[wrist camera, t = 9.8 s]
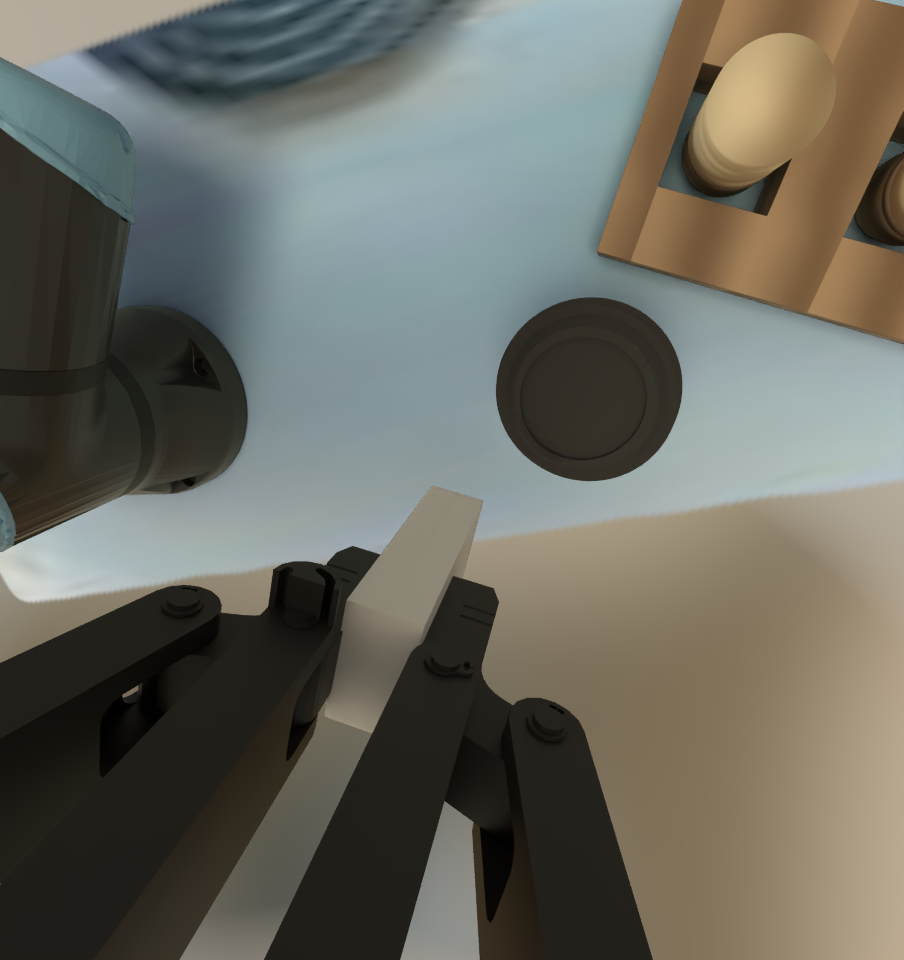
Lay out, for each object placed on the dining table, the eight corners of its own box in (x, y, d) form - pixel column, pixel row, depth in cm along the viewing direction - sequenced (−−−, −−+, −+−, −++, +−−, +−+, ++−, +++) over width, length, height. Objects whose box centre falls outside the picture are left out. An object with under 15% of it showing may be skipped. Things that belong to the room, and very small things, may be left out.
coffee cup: (595, 264, 40) (589, 253, 26) (690, 362, 41) (733, 403, 27) (499, 362, 44) (449, 399, 30) (588, 452, 44) (579, 530, 30)
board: (598, 255, 40) (597, 251, 35) (684, 3, 35) (696, -40, 30) (915, 347, 37) (958, 356, 33) (1057, 89, 32) (1132, 57, 28)
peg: (664, 190, 38) (687, 150, 26) (697, 101, 36) (737, 18, 25) (744, 212, 37) (802, 180, 26) (781, 122, 35) (861, 47, 24)
